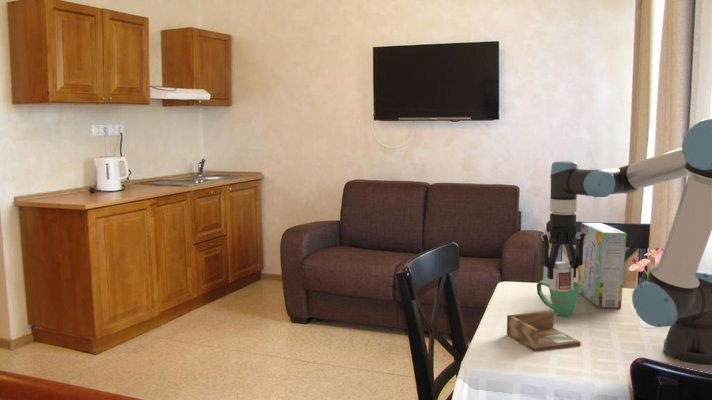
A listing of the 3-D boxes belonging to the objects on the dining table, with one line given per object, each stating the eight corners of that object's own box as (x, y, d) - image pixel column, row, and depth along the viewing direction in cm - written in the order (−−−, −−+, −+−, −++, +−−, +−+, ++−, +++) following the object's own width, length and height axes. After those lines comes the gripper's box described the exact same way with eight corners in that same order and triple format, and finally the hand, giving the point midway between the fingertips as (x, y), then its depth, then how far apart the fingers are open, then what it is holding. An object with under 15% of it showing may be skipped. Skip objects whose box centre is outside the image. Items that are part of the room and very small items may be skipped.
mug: (585, 314, 207) (586, 284, 205) (570, 320, 200) (571, 289, 199) (544, 304, 217) (545, 276, 216) (528, 310, 211) (529, 281, 209)
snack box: (624, 308, 212) (628, 232, 209) (597, 308, 213) (601, 232, 209) (599, 291, 234) (603, 221, 231) (576, 291, 234) (579, 221, 231)
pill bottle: (572, 289, 195) (572, 262, 194) (565, 292, 191) (565, 265, 190) (557, 287, 198) (557, 260, 197) (550, 290, 194) (550, 263, 193)
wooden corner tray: (580, 345, 179) (581, 324, 178) (534, 351, 174) (534, 330, 173) (550, 329, 192) (551, 310, 191) (506, 335, 187) (507, 315, 186)
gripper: (584, 210, 197) (582, 284, 199) (529, 212, 194) (528, 287, 197) (597, 213, 189) (595, 290, 192) (540, 215, 187) (538, 293, 189)
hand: (561, 288), depth 194 cm, fingers closed on pill bottle, 5 cm apart
